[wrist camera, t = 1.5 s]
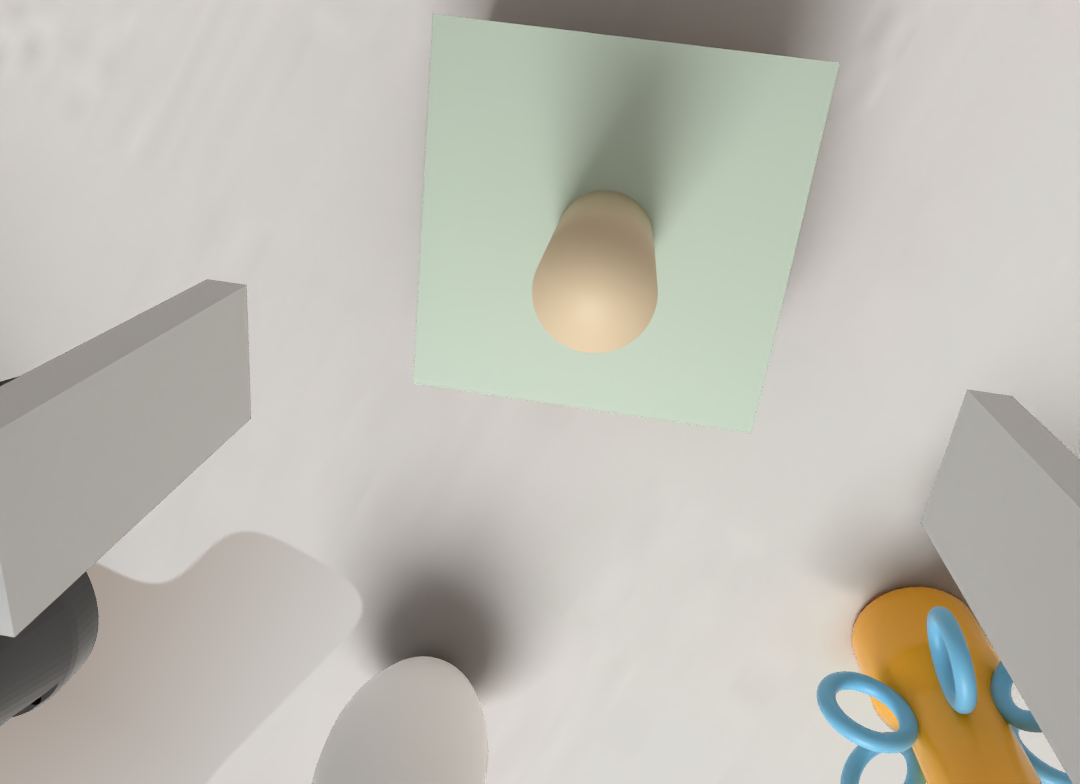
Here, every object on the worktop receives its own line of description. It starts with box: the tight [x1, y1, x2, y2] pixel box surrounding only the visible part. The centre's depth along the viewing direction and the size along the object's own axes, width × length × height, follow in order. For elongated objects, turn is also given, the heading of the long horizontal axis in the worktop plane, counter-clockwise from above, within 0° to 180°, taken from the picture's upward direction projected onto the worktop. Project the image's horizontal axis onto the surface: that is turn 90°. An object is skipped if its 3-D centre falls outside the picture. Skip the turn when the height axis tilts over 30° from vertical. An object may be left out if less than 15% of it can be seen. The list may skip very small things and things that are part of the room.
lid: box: [413, 14, 840, 434], centre depth 26 cm, size 13×13×8 cm
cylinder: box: [817, 586, 1072, 784], centre depth 34 cm, size 12×10×15 cm
